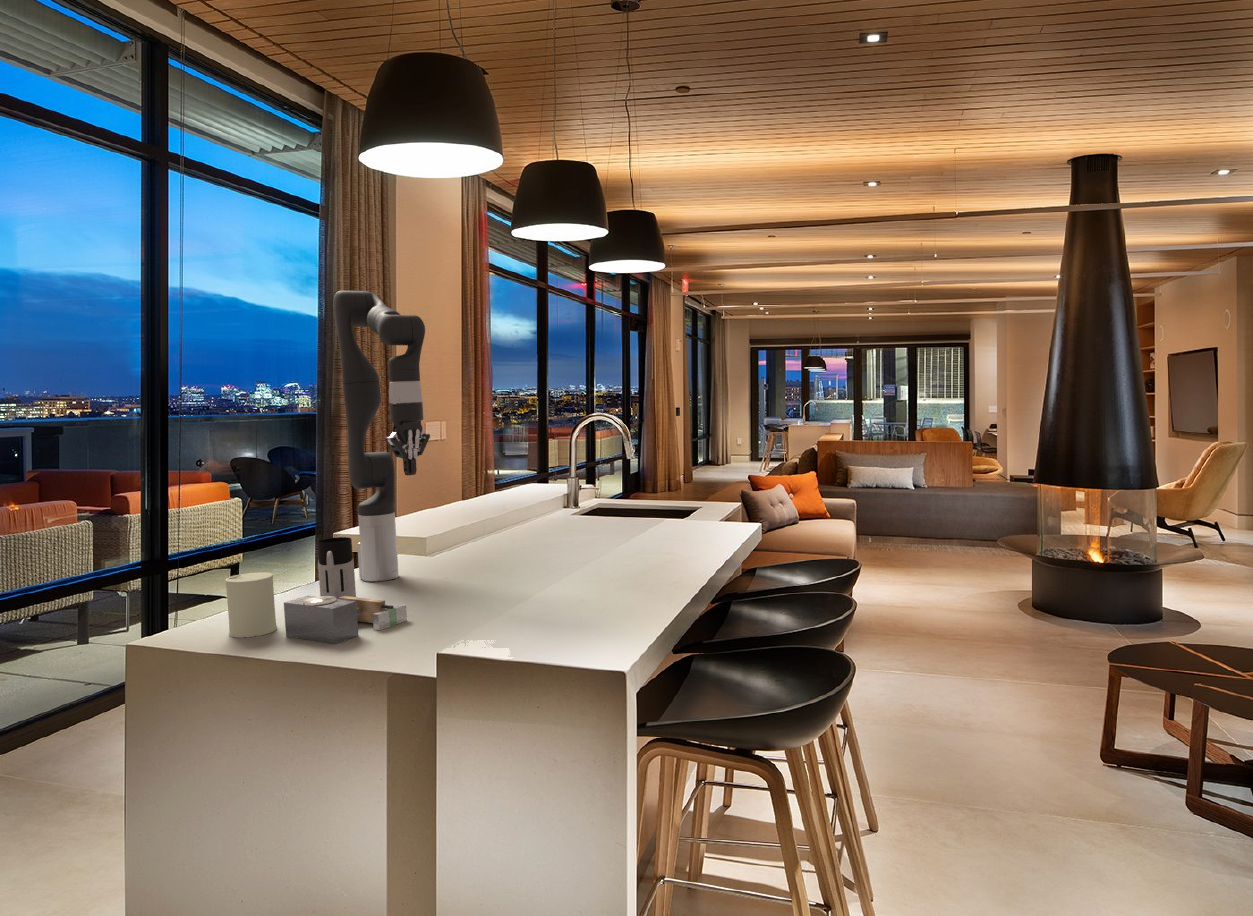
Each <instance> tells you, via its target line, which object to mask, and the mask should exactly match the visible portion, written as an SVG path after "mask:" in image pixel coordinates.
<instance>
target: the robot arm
mask: <svg viewBox="0 0 1253 916" xmlns="http://www.w3.org/2000/svg"><path fill="white" fill-rule="evenodd" d="M332 306H333V315H334V322H335V328H336V333H337V339H338V341H337V342H338V345H339V353H340V354H339V355H340V363H341V364H340V365H341V377H342V378H341V381H342V392H343V400H344V401H343V402H344V407H345V408H344V409H345V410H344V411H345V417H346V428H347V455H348V456H347V457H348V458H347V462H348V463H347V464H348V465H347V466H348V476H349V479H350V480H349V481H350V483H351V486H352V487H353V488H355V489H356V490H362V489H363V490H364V489H371V488H373V489H374V488H377V489H376V492H375V493H373V495H372V496H370V497H369V498H367V499H365V500H363V501H361V502H360V503H359V504H358V506H357V517H358V531H359V532H358V533H359V542H357V544H356V545H357V556H358V557H357V558H358V559H357V560H358V573H359V574H358V575H359V579H361V580H362V581H365V582H384V581H390V580H393V579H397V578H399V576H400V575H399V559H398V545H397V544H398V543H397V541H398V540H397V529H396V515H395V514H396V513H395V512H396V511H395V504H396V503H395V502H396V491H395V489H396V488H395V484H396V483H395V480H396V478H395V475H396V474H395V463H394V459H393V456H392V454H390V453H389V452H388V451H374V452H373V451H371V452H370V451H369V452H365V439H366V435H367V433H368V430H369V428H370V426H371V424H372V422H373V420H374V418H375V416H376V414H377V412H378V410H379V408H380V406H381V402H382V395H381V383H380V376H379V374H378V372H377V370H376V368H375V367H374V365H373V364H372V363H371V362H370V360H369V359H368V358H367V356H366V355H365V354H364V353H363V351H362V350H361V348H360V346H359V345H358V342H357V340H356V336H355V335H354V330H353V327H355V328H356V327H359V328H361V327H362V328H363V327H365V328H368V327H369V329H370V331H372V332H373V333H375V334H377V335H378V338H379V340H380V342H381V343H382V344H384V345H387V346H407V348H406V351H405V353H402V354H400V355H396V356H391V357H390V358H389V359H388V364H387V365H388V366H387V367H388V370H387V371H388V382H389V383H388V385H389V386H388V403H389V417H390V418H389V419H390V422H392V423H393V426H392V430H391V431H392V433H391V434H390V436H385V438H384V440H385V442H386V444H387V445H388V446H389V448H390V450H391V452H392V453H393V454H394V456H395V457H396V458H399V459H402V466H403V473H404V475H405V476H415V475H417V469H418V468H417V458H418V457H419V456H422V455H423V453H424V451H425V449H426V448H427V445H428V442H429V440H430V438H431V434H430V433H426V432H425V431H424V429H423V425H422V421H423V420H424V405H423V404H424V403H423V390H422V385H421V375H420V373H421V372H420V370H421V369H420V360H421V353H422V348H423V344H424V340H425V336H426V335H425V334H426V325H425V323H424V320H422V318H421V316H418V315H417V314H400V313H399V312H398V311H397V310H395V309H392V308H390V307H388V306H387V305H386V304H385V302H383V301H382V299H380V297H379V296H377V294H375V293H374V292H371V291H368V290H367V291H366V290H338V291H337V292H336V293H334V297H333V305H332Z"/></svg>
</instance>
